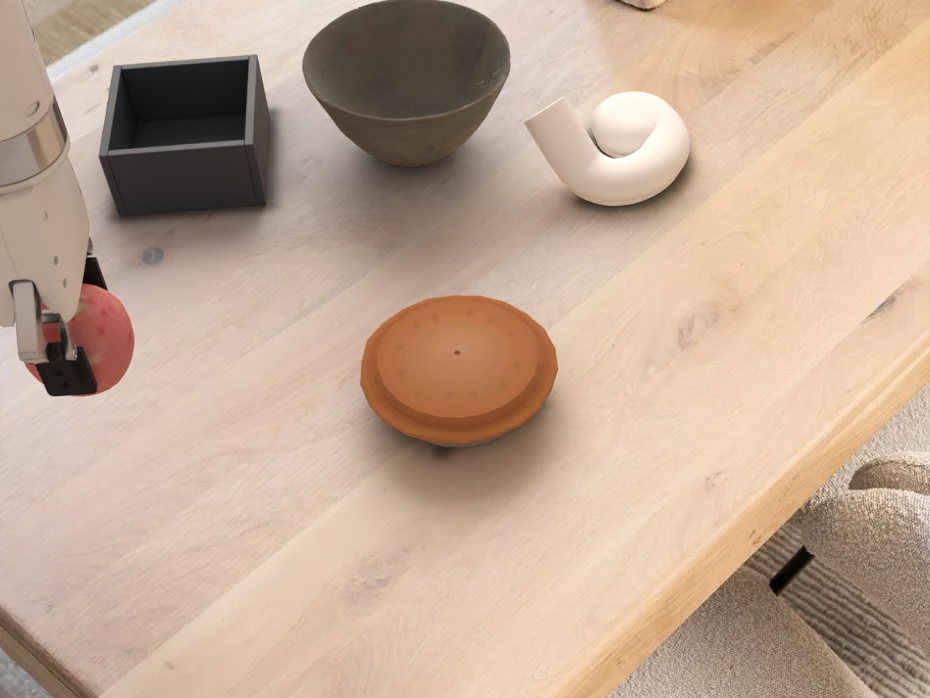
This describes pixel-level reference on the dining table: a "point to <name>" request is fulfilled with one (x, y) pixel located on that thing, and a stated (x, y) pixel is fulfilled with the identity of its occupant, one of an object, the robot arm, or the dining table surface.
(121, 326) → the apple
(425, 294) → the dining table surface
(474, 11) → the bowl
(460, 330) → the pie
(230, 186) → the bin
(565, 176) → the sculpture
